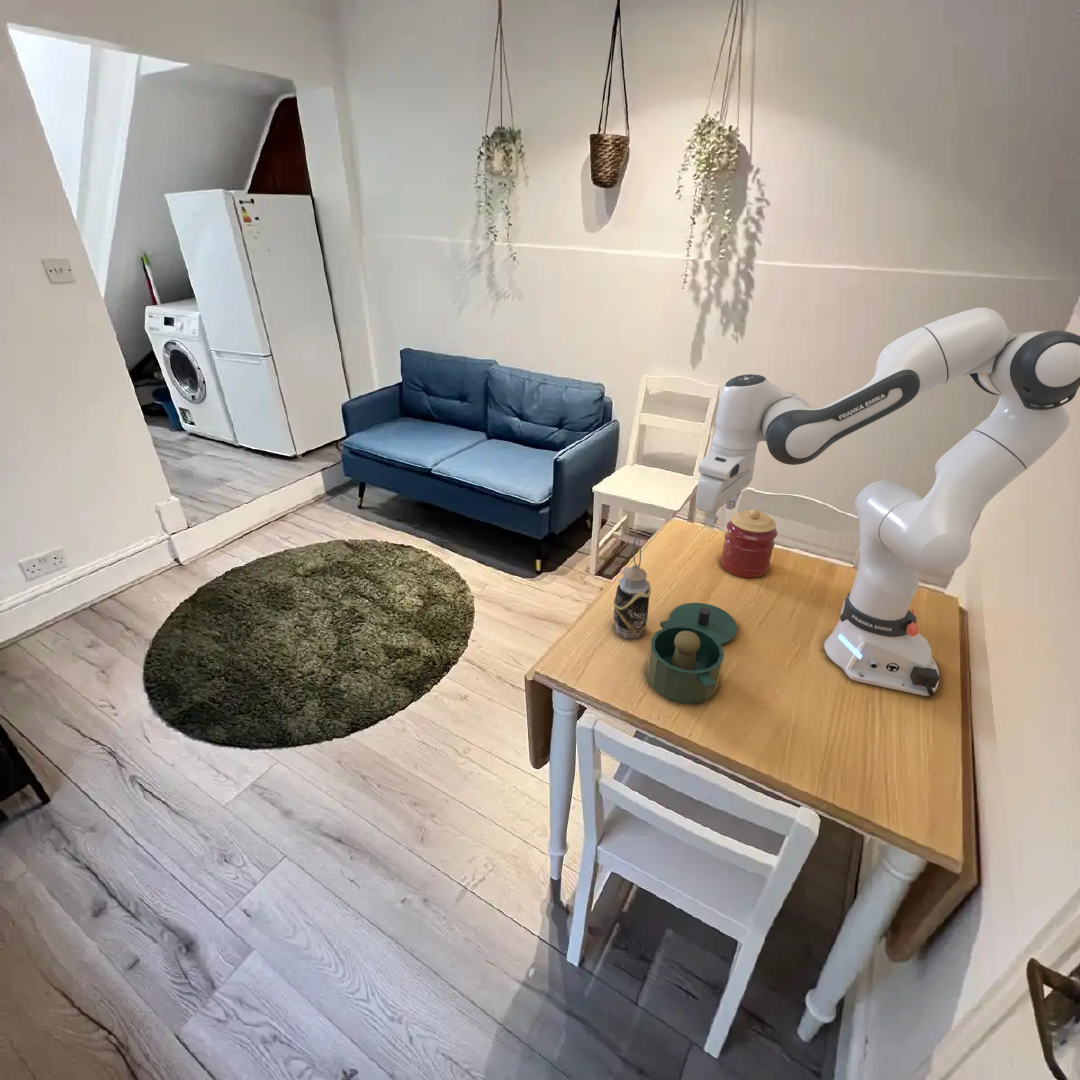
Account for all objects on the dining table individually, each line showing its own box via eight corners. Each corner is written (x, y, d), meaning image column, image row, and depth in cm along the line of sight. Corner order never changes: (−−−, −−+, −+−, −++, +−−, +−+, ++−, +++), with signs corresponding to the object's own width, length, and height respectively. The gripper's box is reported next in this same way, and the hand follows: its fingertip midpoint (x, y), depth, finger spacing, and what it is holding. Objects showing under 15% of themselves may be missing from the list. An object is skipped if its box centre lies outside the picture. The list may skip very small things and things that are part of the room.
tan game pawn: (696, 687, 120) (704, 647, 114) (667, 683, 121) (673, 643, 115) (695, 667, 125) (702, 628, 119) (666, 664, 126) (672, 624, 120)
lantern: (649, 641, 133) (661, 549, 120) (614, 642, 133) (622, 550, 120) (641, 617, 140) (651, 529, 128) (608, 619, 140) (615, 530, 127)
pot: (690, 642, 133) (695, 612, 128) (737, 705, 116) (745, 674, 112) (631, 653, 130) (635, 623, 125) (671, 720, 113) (676, 688, 109)
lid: (715, 602, 146) (718, 587, 143) (749, 641, 133) (752, 626, 130) (658, 611, 143) (660, 596, 140) (687, 653, 130) (690, 637, 127)
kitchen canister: (737, 548, 168) (748, 494, 159) (777, 567, 160) (791, 511, 151) (710, 563, 161) (720, 508, 152) (750, 584, 152) (764, 526, 143)
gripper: (738, 438, 126) (727, 495, 133) (694, 467, 112) (685, 528, 120) (766, 445, 122) (754, 503, 129) (725, 475, 109) (713, 538, 116)
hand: (720, 515), depth 124 cm, fingers open, 8 cm apart
